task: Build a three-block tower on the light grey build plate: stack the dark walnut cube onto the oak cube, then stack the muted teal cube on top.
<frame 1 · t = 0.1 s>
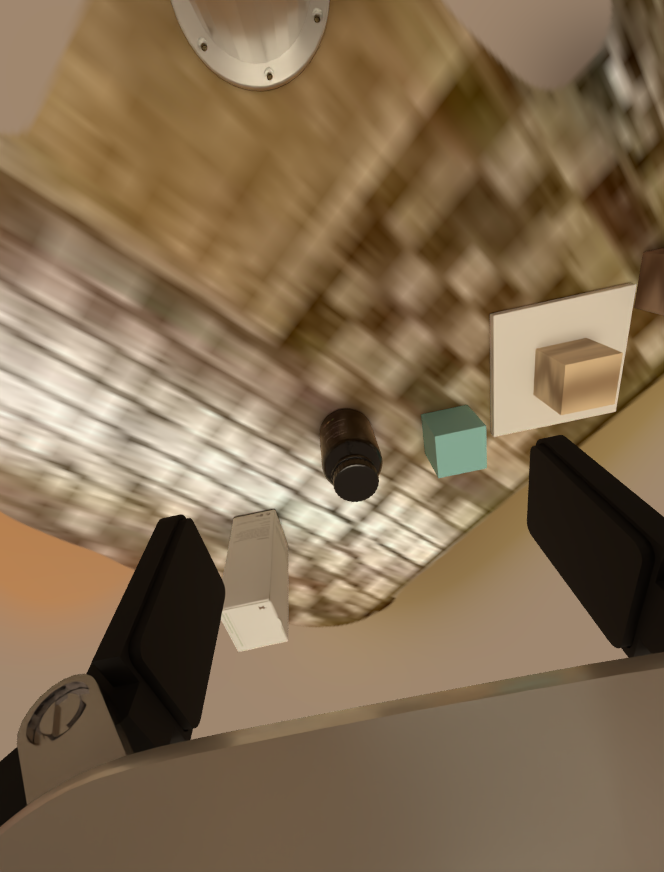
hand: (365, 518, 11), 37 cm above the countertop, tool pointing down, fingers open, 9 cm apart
build plate: (554, 364, 49), on the countertop
oak cube: (559, 367, 48), point 1 cm above the countertop, touching build plate
teal cube: (445, 429, 52), on the countertop
supplement bottle: (345, 430, 51), on the countertop
skincare box: (263, 532, 59), on the countertop
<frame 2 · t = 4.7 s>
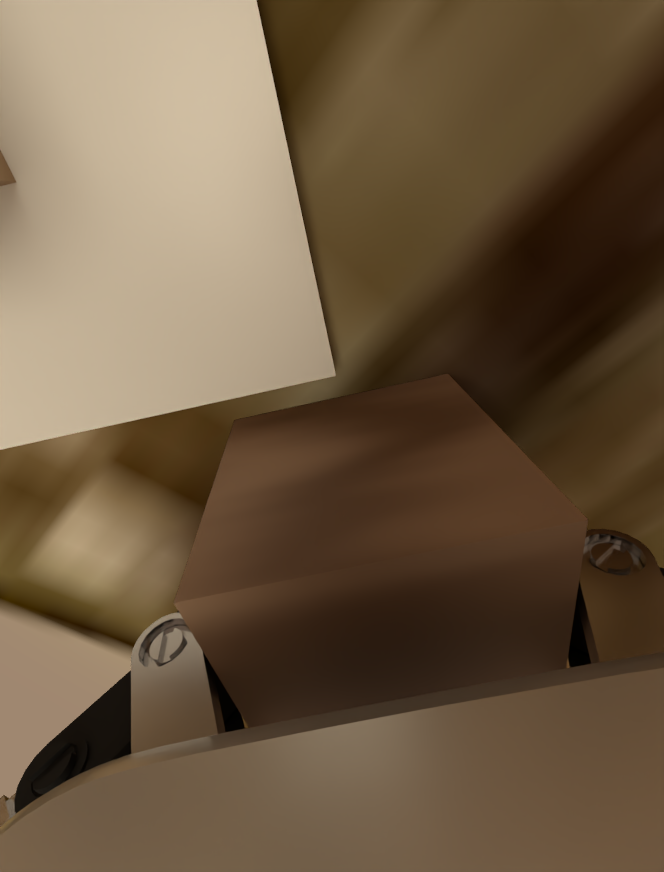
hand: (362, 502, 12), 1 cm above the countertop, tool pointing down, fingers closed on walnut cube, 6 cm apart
walnut cube: (358, 483, 12), on the countertop, touching gripper
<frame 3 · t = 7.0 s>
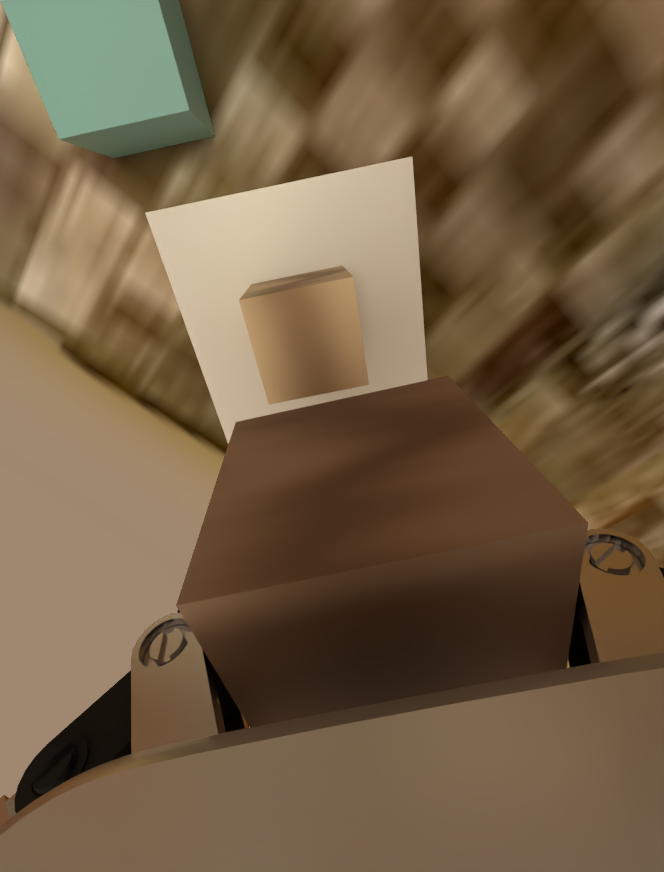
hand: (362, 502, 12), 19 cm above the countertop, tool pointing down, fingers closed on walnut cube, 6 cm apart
walnut cube: (359, 485, 12), point 18 cm above the countertop, touching gripper
build plate: (306, 318, 28), on the countertop
oak cube: (306, 321, 27), point 1 cm above the countertop, touching build plate
teal cube: (143, 80, 21), on the countertop
when the fingers open (9 cm above the countertop, at t = 9.7 s): walnut cube stays where it is, resting on oak cube.
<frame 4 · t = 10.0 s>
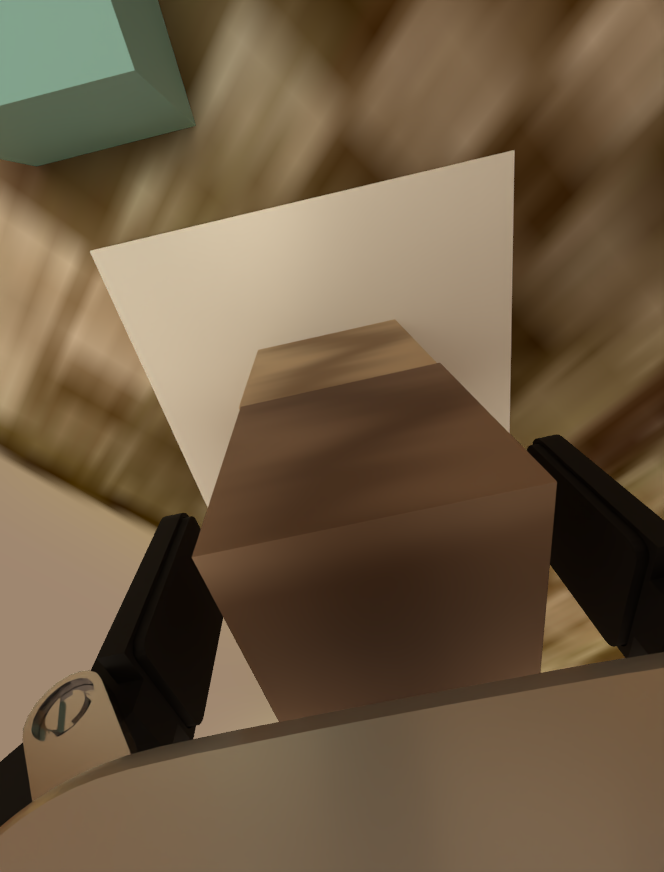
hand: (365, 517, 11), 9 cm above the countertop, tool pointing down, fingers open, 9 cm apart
walnut cube: (357, 467, 13), point 7 cm above the countertop, touching oak cube
build plate: (337, 389, 19), on the countertop
oak cube: (339, 397, 18), point 1 cm above the countertop, touching build plate, walnut cube
teal cube: (73, 35, 13), on the countertop
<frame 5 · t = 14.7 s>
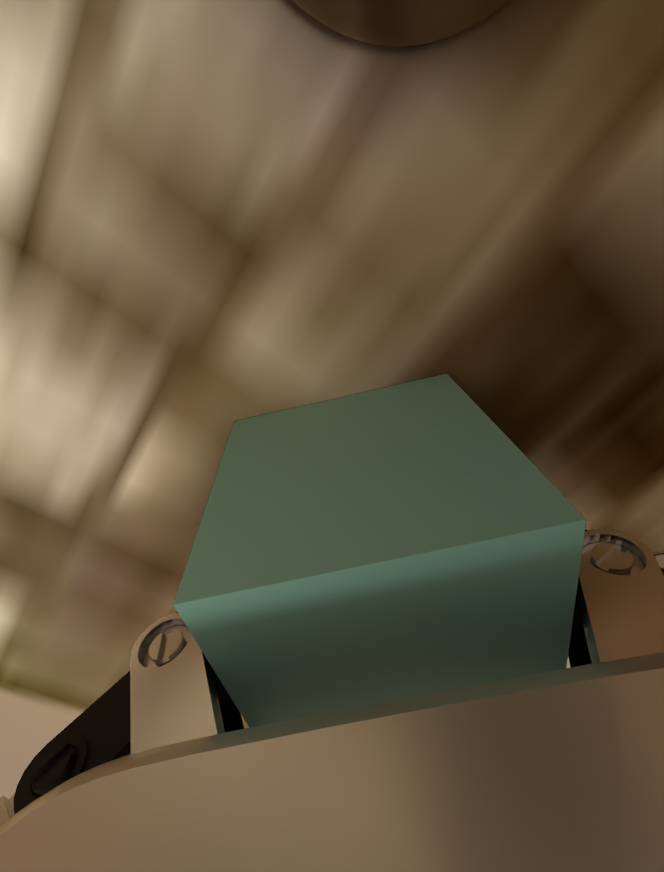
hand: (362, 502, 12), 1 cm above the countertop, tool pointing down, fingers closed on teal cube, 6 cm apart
teal cube: (358, 484, 12), on the countertop, touching gripper
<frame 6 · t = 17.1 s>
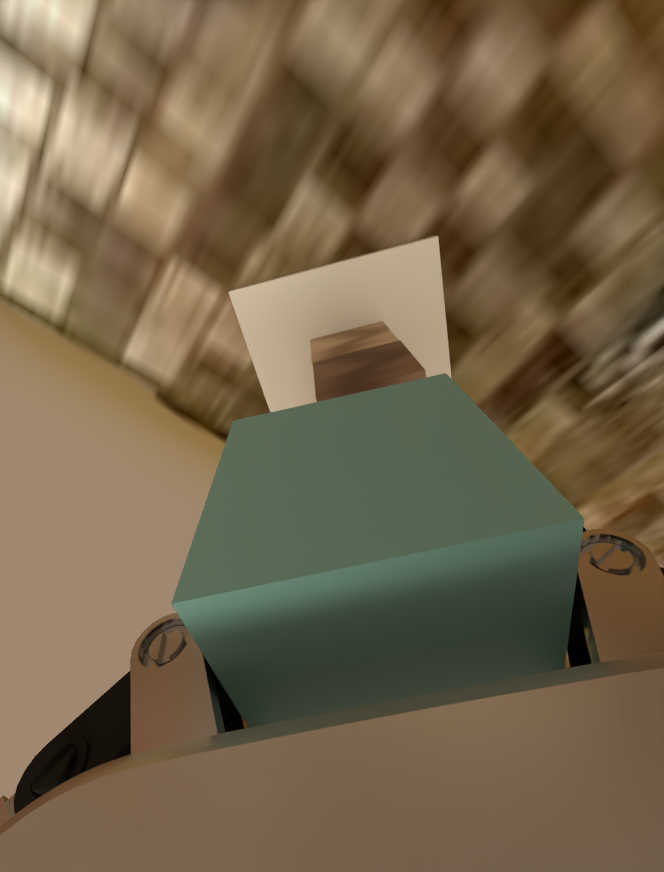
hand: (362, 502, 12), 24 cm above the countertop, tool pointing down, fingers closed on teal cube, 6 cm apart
walnut cube: (364, 391, 28), point 7 cm above the countertop, touching oak cube
build plate: (352, 361, 34), on the countertop
oak cube: (353, 365, 33), point 1 cm above the countertop, touching build plate, walnut cube
teal cube: (357, 483, 12), point 23 cm above the countertop, touching gripper
when the fingers open (15 cm above the countertop, at t = 19.5 s): teal cube stays where it is, point 14 cm above the countertop.
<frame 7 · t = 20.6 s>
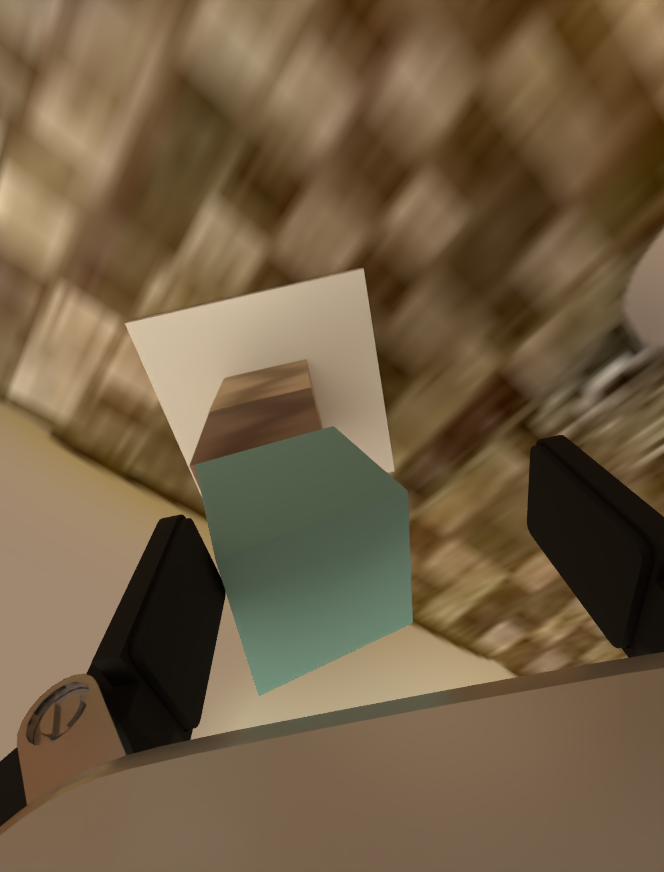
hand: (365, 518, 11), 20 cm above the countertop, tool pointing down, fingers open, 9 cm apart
walnut cube: (274, 444, 24), point 7 cm above the countertop, touching oak cube
build plate: (276, 401, 30), on the countertop
oak cube: (276, 406, 29), point 1 cm above the countertop, touching build plate, walnut cube
teal cube: (280, 502, 18), point 14 cm above the countertop, tilted 18°
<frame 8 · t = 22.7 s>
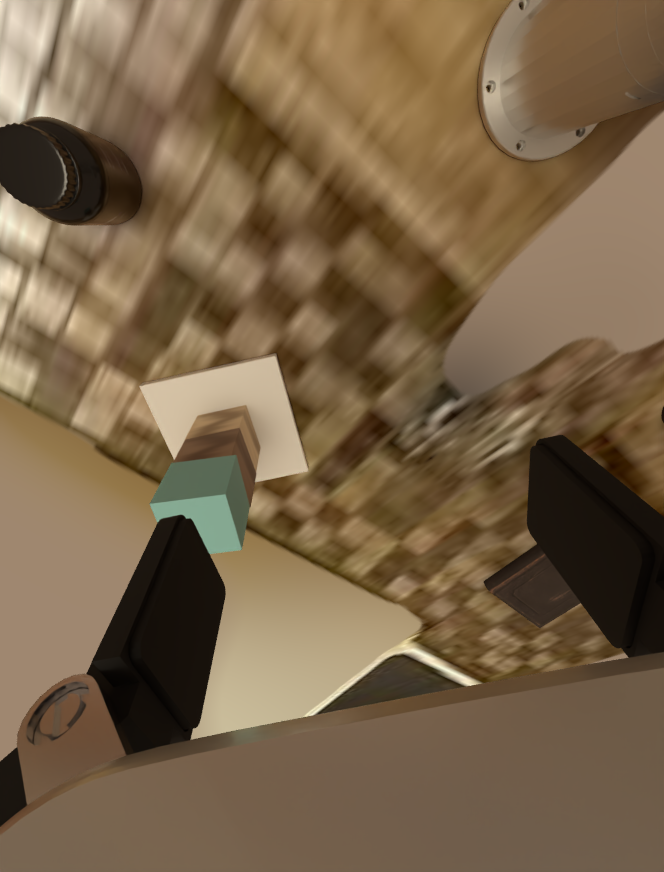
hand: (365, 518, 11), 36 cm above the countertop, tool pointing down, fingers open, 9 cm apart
walnut cube: (221, 457, 43), point 7 cm above the countertop, touching oak cube, teal cube
build plate: (231, 428, 49), on the countertop
oak cube: (229, 431, 49), point 1 cm above the countertop, touching build plate, walnut cube
hardcover book: (563, 560, 66), on the countertop
teal cube: (212, 485, 38), point 13 cm above the countertop, touching walnut cube
supplement bottle: (106, 183, 37), on the countertop
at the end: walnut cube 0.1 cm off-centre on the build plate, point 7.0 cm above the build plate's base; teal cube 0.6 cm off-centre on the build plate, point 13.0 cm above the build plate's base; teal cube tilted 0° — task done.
